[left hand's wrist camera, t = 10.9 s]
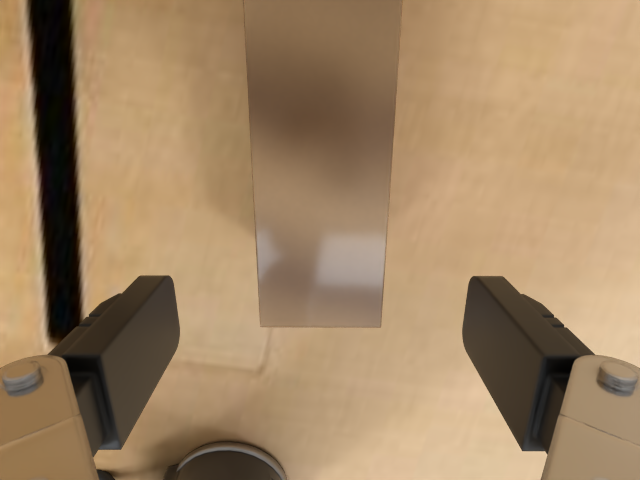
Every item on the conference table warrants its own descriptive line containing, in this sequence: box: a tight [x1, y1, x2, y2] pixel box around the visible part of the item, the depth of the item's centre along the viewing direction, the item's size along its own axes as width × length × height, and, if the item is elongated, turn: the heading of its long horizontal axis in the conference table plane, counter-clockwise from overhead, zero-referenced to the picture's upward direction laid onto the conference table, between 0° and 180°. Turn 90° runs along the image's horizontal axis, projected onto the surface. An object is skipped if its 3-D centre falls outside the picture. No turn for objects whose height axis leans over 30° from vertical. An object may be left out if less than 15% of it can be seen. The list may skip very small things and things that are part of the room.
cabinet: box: [243, 0, 402, 328], centre depth 19 cm, size 19×6×9 cm, turn 0°
